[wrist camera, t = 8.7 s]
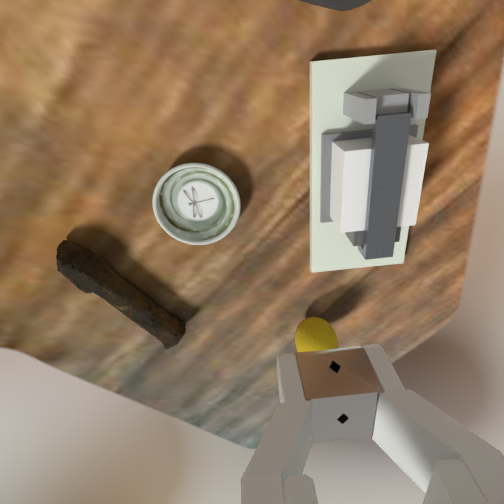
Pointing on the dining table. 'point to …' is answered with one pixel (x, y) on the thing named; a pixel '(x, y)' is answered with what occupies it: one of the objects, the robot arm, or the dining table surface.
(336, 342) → the lemon
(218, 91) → the dining table surface
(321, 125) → the board
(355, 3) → the media streaming box
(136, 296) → the dark brown long bar
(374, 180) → the strap
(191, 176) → the saucer
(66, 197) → the dining table surface
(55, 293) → the dining table surface
